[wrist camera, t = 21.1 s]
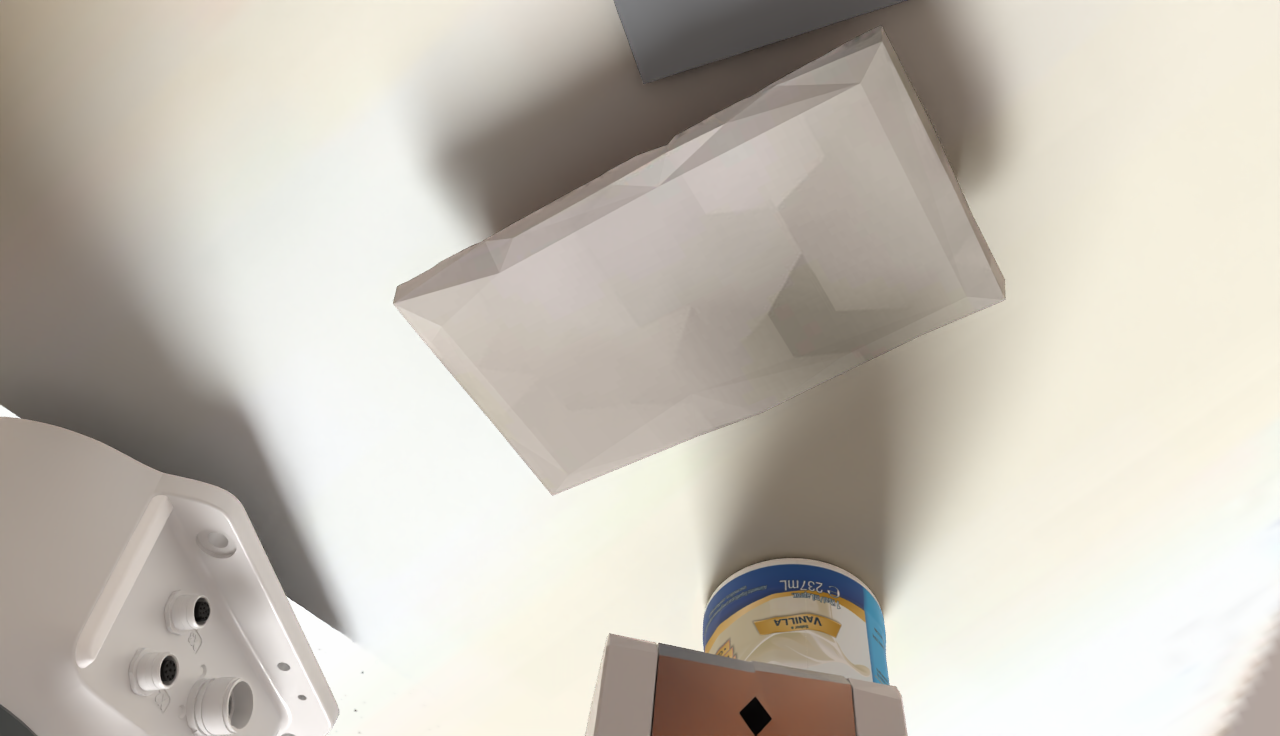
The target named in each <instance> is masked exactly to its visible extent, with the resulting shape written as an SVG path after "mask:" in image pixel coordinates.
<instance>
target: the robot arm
mask: <svg viewBox="0 0 1280 736" xmlns="http://www.w3.org/2000/svg"><path fill="white" fill-rule="evenodd" d="M338 716H339V708H338V705H337V703H336V700H335V698H334V696H333V694H332V692H331V690H330V687H329V685H328V683H327V681H326V679H325V677H324V675H323V673H322V671H321V669H320V666H319V664H318V662H317V660H316V658H315V656H314V654H313V652H312V650H311V647H310V645H309V643H308V641H307V639H306V637H305V635H304V633H303V631H302V629H301V626H300V624H299V622H298V620H297V618H296V616H295V614H294V612H293V610H292V608H291V605H290V603H289V601H288V599H287V597H286V595H285V593H284V591H283V589H282V586H281V584H280V582H279V580H278V578H277V576H276V574H275V572H274V570H273V568H272V565H271V563H270V561H269V559H268V557H267V555H266V553H265V551H264V549H263V547H262V544H261V542H260V540H259V538H258V536H257V534H256V532H255V530H254V528H253V525H252V523H251V521H250V519H249V517H248V515H247V513H246V511H245V509H244V507H243V505H242V504H241V502H240V501H239V500H238V499H237V498H236V497H235V496H234V495H233V494H231V493H230V492H228V491H226V490H225V489H222V488H220V487H218V486H215V485H212V484H209V483H205V482H201V481H198V480H194V479H189V478H185V477H181V476H176V475H172V474H167V473H163V472H160V471H158V470H155V469H153V468H151V467H149V466H147V465H145V464H142V463H141V462H139V461H137V460H135V459H133V458H131V457H129V456H127V455H126V454H124V453H122V452H120V451H118V450H116V449H114V448H112V447H110V446H108V445H106V444H104V443H102V442H100V441H97V440H95V439H93V438H90V437H88V436H85V435H82V434H80V433H77V432H74V431H71V430H68V429H65V428H62V427H59V426H55V425H51V424H47V423H43V422H38V421H33V420H27V419H20V418H11V417H0V736H326V735H327V734H328V733H329V732H330V730H331V729H332V728H333V726H334V724H335V722H336V720H337V718H338ZM585 736H908V735H907V728H906V721H905V714H904V708H903V701H902V696H901V694H900V692H899V690H898V689H897V687H896V686H890V685H885V684H879V683H874V682H868V681H863V680H857V679H852V678H845V677H844V676H840V675H834V674H828V673H822V672H816V671H810V670H804V669H798V668H792V667H787V666H781V665H775V664H769V663H763V662H757V661H750V662H748V661H743V660H738V659H734V658H729V657H724V656H719V655H714V654H710V653H705V652H700V651H695V650H691V649H686V648H681V647H676V646H672V645H667V644H662V643H658V644H656V643H655V642H650V641H645V640H640V639H635V638H630V637H625V636H620V635H615V634H610V633H609V635H608V636H607V639H606V643H605V647H604V651H603V656H602V660H601V664H600V669H599V673H598V677H597V682H596V686H595V690H594V695H593V699H592V704H591V709H590V713H589V718H588V723H587V728H586V733H585Z"/></svg>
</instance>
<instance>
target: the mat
mask: <svg viewBox="0 0 1280 736" xmlns="http://www.w3.org/2000/svg"><path fill="white" fill-rule="evenodd" d="M903 1H907V0H614V3H615V6H616V8H617V11H618V14H619V17H620V20H621V22H622V25H623V28H624V31H625V33H626V36H627V39H628V42H629V45H630V47H631V50H632V53H633V56H634V58H635V61H636V64H637V67H638V70H639V72H640V75H641V78H642V81H643V83H644V84H646V83H649V82H652V81H655V80H658V79H662V78H665V77H668V76H671V75H674V74H677V73H680V72H684V71H687V70H690V69H693V68H696V67H699V66H702V65H706V64H709V63H712V62H715V61H718V60H721V59H724V58H728V57H731V56H734V55H737V54H740V53H743V52H746V51H750V50H753V49H756V48H759V47H762V46H765V45H768V44H772V43H775V42H778V41H781V40H784V39H787V38H790V37H794V36H797V35H800V34H803V33H806V32H809V31H812V30H816V29H819V28H822V27H825V26H828V25H831V24H834V23H837V22H841V21H844V20H847V19H850V18H853V17H856V16H859V15H863V14H866V13H869V12H872V11H875V10H878V9H881V8H885V7H888V6H891V5H894V4H897V3H900V2H903Z"/></svg>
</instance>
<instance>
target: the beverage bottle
mask: <svg viewBox="0 0 1280 736" xmlns="http://www.w3.org/2000/svg"><path fill="white" fill-rule="evenodd" d="M703 646H704V652H705V653H710V654H714V655H719V656H724V657H729V658H734V659H738V660H743V661H748V662H750V661H757V662H763V663H769V664H775V665H781V666H787V667H792V668H798V669H804V670H810V671H816V672H822V673H828V674H834V675H840V676H844V677H845V678H852V679H857V680H863V681H868V682H874V683H879V684H885V685H889V678H888V670H887V662H886V634H885V625H884V618H883V613H882V610H881V607H880V605H879V603H878V601H877V599H876V597H875V596H874V594H873V593H872V592H871V590H870V589H869V588H868V587H867V586H866V585H865V584H864V583H863V582H862V581H860V580H859V579H858V578H857V577H855V576H854V575H852V574H851V573H849V572H847V571H845V570H843V569H841V568H839V567H837V566H834V565H831V564H828V563H825V562H821V561H817V560H811V559H802V558H782V559H773V560H768V561H763V562H760V563H756V564H753V565H751V566H748V567H746V568H744V569H742V570H740V571H738V572H736V573H734V574H733V575H731V576H730V577H729V578H727V579H726V580H725V581H724V582H723V583H722V584H721V585H720V586H719V587H718V588H717V589H716V590H715V592H714V593H713V594H712V596H711V598H710V600H709V601H708V604H707V606H706V609H705V613H704V620H703Z"/></svg>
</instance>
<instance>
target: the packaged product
mask: <svg viewBox="0 0 1280 736" xmlns="http://www.w3.org/2000/svg"><path fill="white" fill-rule="evenodd" d="M1004 300H1005V279H1004V277H1003V275H1002V273H1001V271H1000V269H999V267H998V265H997V263H996V261H995V259H994V257H993V255H992V253H991V251H990V249H989V247H988V245H987V243H986V241H985V239H984V237H983V235H982V233H981V231H980V229H979V227H978V225H977V223H976V221H975V219H974V217H973V215H972V213H971V211H970V208H969V206H968V204H967V202H966V199H965V197H964V195H963V193H962V190H961V188H960V186H959V184H958V181H957V179H956V177H955V175H954V173H953V170H952V168H951V166H950V164H949V161H948V159H947V157H946V155H945V152H944V150H943V148H942V146H941V144H940V141H939V139H938V137H937V135H936V132H935V130H934V128H933V126H932V124H931V122H930V120H929V118H928V116H927V114H926V112H925V110H924V108H923V106H922V104H921V102H920V100H919V98H918V96H917V94H916V92H915V90H914V88H913V86H912V84H911V82H910V80H909V78H908V76H907V74H906V72H905V70H904V68H903V66H902V64H901V62H900V61H899V59H898V57H897V55H896V53H895V51H894V49H893V47H892V45H891V43H890V41H889V39H888V37H887V35H886V33H885V31H884V29H883V27H882V25H880V26H878V27H876V28H874V29H872V30H870V31H868V32H866V33H864V34H862V35H860V36H858V37H856V38H854V39H852V40H850V41H848V42H846V43H844V44H842V45H841V46H839V47H837V48H836V49H834V50H832V51H831V52H829V53H827V54H825V55H824V56H822V57H820V58H818V59H816V60H814V61H812V62H810V63H808V64H806V65H804V66H803V67H801V68H799V69H797V70H795V71H794V72H792V73H790V74H788V75H786V76H785V77H783V78H781V79H779V80H777V81H776V82H774V83H772V84H770V85H768V86H767V87H765V88H763V89H762V90H760V91H759V92H757V93H756V94H754V95H752V96H750V97H748V98H745V99H743V100H741V101H739V102H737V103H735V104H733V105H731V106H729V107H727V108H725V109H723V110H721V111H719V112H717V113H716V114H714V115H712V116H710V117H708V118H707V119H705V120H703V121H702V122H700V123H698V124H696V125H694V126H692V127H691V128H689V129H687V130H685V131H683V132H681V133H679V134H677V135H675V136H674V137H673V139H672V140H671V141H670V142H669V143H668V145H665V146H662V147H659V148H656V149H654V150H651V151H648V152H645V153H642V154H640V155H637V156H635V157H633V158H632V159H630V160H628V161H626V162H624V163H622V164H620V165H618V166H617V167H615V168H613V169H611V170H609V171H607V172H606V173H604V174H603V175H601V176H600V177H598V178H596V179H594V180H592V181H590V182H588V183H587V184H585V185H583V186H581V187H579V188H577V189H575V190H573V191H571V192H570V193H568V194H566V195H564V196H562V197H560V198H559V199H557V200H555V201H553V202H551V203H550V204H548V205H546V206H544V207H542V208H541V209H539V210H537V211H535V212H533V213H531V214H530V215H528V216H526V217H524V218H522V219H521V220H519V221H517V222H515V223H513V224H512V225H510V226H508V227H506V228H505V229H503V230H501V231H499V232H497V233H496V234H494V235H492V236H490V237H488V238H487V239H485V240H483V241H482V242H480V243H478V244H475V245H473V246H470V247H468V248H466V249H464V250H462V251H460V252H458V253H456V254H455V255H453V256H451V257H449V258H447V259H445V260H443V261H441V262H440V263H438V264H437V265H435V266H434V267H433V268H431V269H429V270H428V271H426V272H424V273H422V274H420V275H418V276H417V277H415V278H413V279H411V280H409V281H407V282H405V283H403V284H401V285H399V286H397V289H396V293H395V297H394V301H393V304H394V306H395V307H396V308H397V309H398V310H399V312H400V313H401V314H402V315H403V317H404V318H405V319H406V320H407V321H408V323H409V324H410V325H411V326H412V328H413V329H414V330H415V331H416V332H417V334H418V335H419V336H420V337H421V338H422V340H423V341H424V342H425V343H426V345H427V346H428V347H429V348H430V349H431V351H432V352H433V353H434V354H435V355H436V356H437V358H438V359H439V360H440V361H441V362H442V364H443V365H444V366H445V367H446V368H447V370H448V371H449V372H450V373H451V374H452V375H453V377H454V378H455V379H456V380H457V381H458V383H459V384H460V385H461V386H462V387H463V389H464V390H465V391H466V392H467V393H468V394H469V396H470V397H471V398H472V399H473V400H474V402H475V403H476V404H477V405H478V406H479V407H480V409H481V410H482V411H483V412H484V413H485V415H486V416H487V417H488V418H489V419H490V421H491V422H492V423H493V424H494V425H495V426H496V428H497V429H498V430H499V431H500V432H501V434H502V435H503V436H504V437H505V439H506V440H507V441H508V442H509V443H510V445H511V446H512V447H513V448H514V450H515V451H516V452H517V453H518V454H519V456H520V457H521V458H522V459H523V461H524V462H525V463H526V464H527V465H528V467H529V468H530V469H531V470H532V471H533V473H534V474H535V475H536V476H537V478H538V479H539V480H540V481H541V482H542V484H543V485H544V486H545V487H546V489H547V490H548V491H549V492H550V493H551V495H552V496H553V495H555V494H558V493H560V492H563V491H565V490H568V489H570V488H572V487H575V486H577V485H580V484H582V483H585V482H587V481H590V480H592V479H595V478H597V477H599V476H602V475H604V474H607V473H609V472H612V471H614V470H617V469H619V468H621V467H624V466H626V465H629V464H631V463H634V462H636V461H639V460H641V459H643V458H646V457H648V456H651V455H653V454H656V453H658V452H661V451H663V450H666V449H668V448H670V447H673V446H675V445H678V444H680V443H683V442H685V441H688V440H690V439H692V438H695V437H697V436H700V435H703V434H706V433H708V432H711V431H714V430H716V429H719V428H722V427H725V426H727V425H730V424H733V423H736V422H738V421H741V420H744V419H747V418H749V417H752V416H755V415H758V414H760V413H763V412H765V411H767V410H769V409H771V408H773V407H775V406H777V405H779V404H781V403H783V402H785V401H787V400H789V399H791V398H793V397H795V396H797V395H799V394H801V393H803V392H805V391H807V390H809V389H811V388H813V387H816V386H818V385H820V384H822V383H824V382H826V381H828V380H830V379H832V378H834V377H836V376H838V375H840V374H842V373H844V372H846V371H848V370H850V369H852V368H855V367H857V366H859V365H861V364H863V363H865V362H867V361H869V360H871V359H873V358H875V357H877V356H879V355H881V354H884V353H886V352H888V351H890V350H892V349H894V348H896V347H898V346H900V345H902V344H904V343H906V342H908V341H910V340H913V339H915V338H917V337H919V336H921V335H923V334H925V333H928V332H930V331H933V330H935V329H937V328H940V327H942V326H944V325H947V324H949V323H952V322H954V321H956V320H959V319H961V318H963V317H966V316H968V315H971V314H973V313H975V312H978V311H980V310H983V309H985V308H987V307H990V306H992V305H994V304H997V303H999V302H1002V301H1004Z"/></svg>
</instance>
